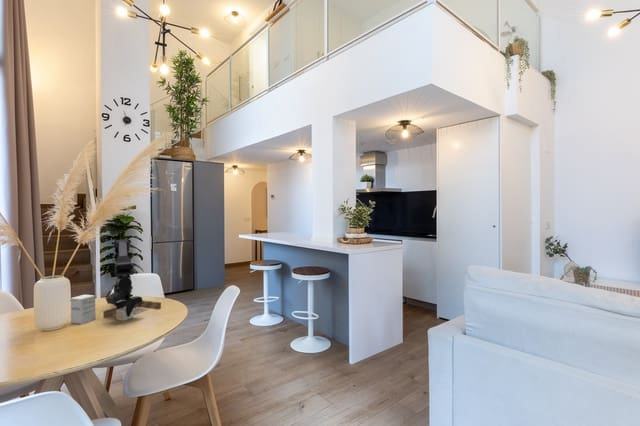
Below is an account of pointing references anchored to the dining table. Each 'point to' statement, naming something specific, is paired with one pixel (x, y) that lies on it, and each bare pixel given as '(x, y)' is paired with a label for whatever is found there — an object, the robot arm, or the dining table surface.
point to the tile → (138, 310)
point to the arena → (142, 304)
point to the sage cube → (123, 314)
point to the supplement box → (82, 309)
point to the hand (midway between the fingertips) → (124, 315)
